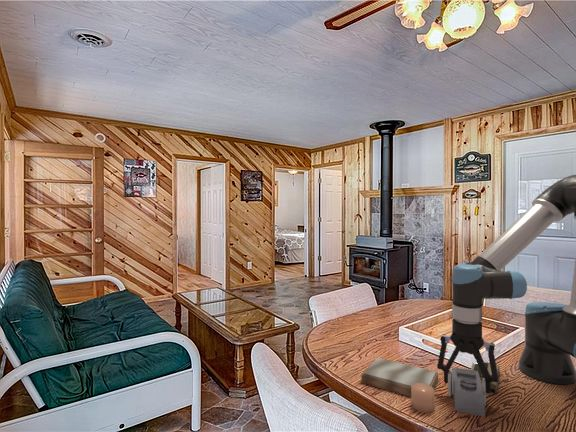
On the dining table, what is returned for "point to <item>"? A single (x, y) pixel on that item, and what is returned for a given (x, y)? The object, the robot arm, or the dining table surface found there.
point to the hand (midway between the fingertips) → (466, 398)
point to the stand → (397, 376)
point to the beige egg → (422, 397)
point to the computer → (493, 384)
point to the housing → (468, 391)
